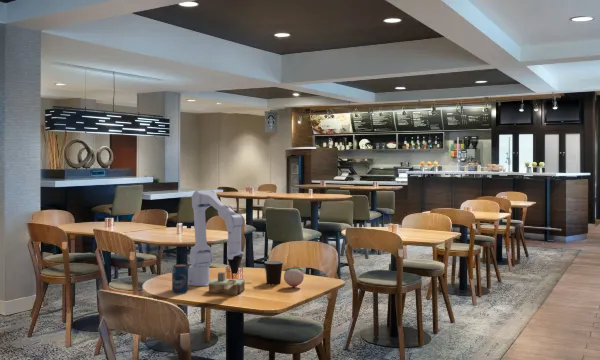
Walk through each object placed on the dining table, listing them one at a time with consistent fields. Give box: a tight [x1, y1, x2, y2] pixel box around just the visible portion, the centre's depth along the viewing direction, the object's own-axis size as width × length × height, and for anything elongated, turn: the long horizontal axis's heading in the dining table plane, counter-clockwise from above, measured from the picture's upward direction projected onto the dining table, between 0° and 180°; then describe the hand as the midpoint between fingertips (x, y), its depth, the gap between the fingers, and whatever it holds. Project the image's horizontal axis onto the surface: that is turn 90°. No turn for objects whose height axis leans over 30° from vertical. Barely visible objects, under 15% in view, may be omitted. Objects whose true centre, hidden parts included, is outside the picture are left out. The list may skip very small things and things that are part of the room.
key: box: [224, 280, 236, 289], centre depth 242 cm, size 3×10×2 cm, turn 171°
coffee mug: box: [264, 260, 284, 286], centre depth 273 cm, size 12×9×10 cm
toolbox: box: [208, 278, 246, 297], centre depth 254 cm, size 14×13×5 cm
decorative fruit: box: [283, 267, 305, 288], centre depth 263 cm, size 9×8×10 cm
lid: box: [209, 271, 245, 285], centre depth 254 cm, size 14×8×5 cm, turn 81°
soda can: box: [171, 263, 189, 294], centre depth 253 cm, size 7×7×12 cm
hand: (234, 273), depth 250 cm, fingers closed
